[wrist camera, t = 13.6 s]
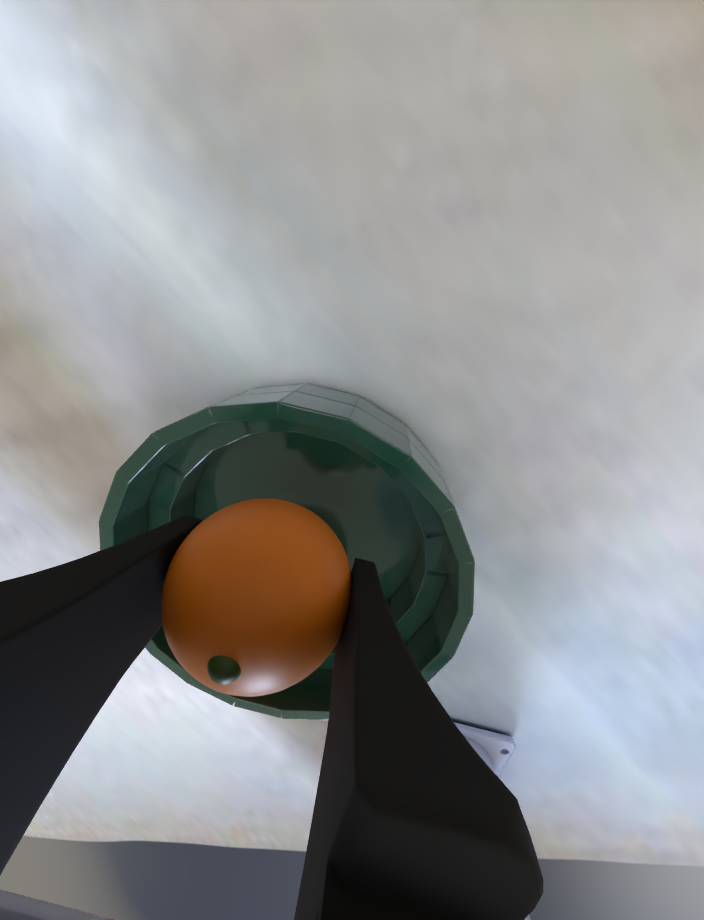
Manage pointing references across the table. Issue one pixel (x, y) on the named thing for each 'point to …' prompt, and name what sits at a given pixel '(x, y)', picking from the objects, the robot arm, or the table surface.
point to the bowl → (324, 493)
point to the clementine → (256, 597)
